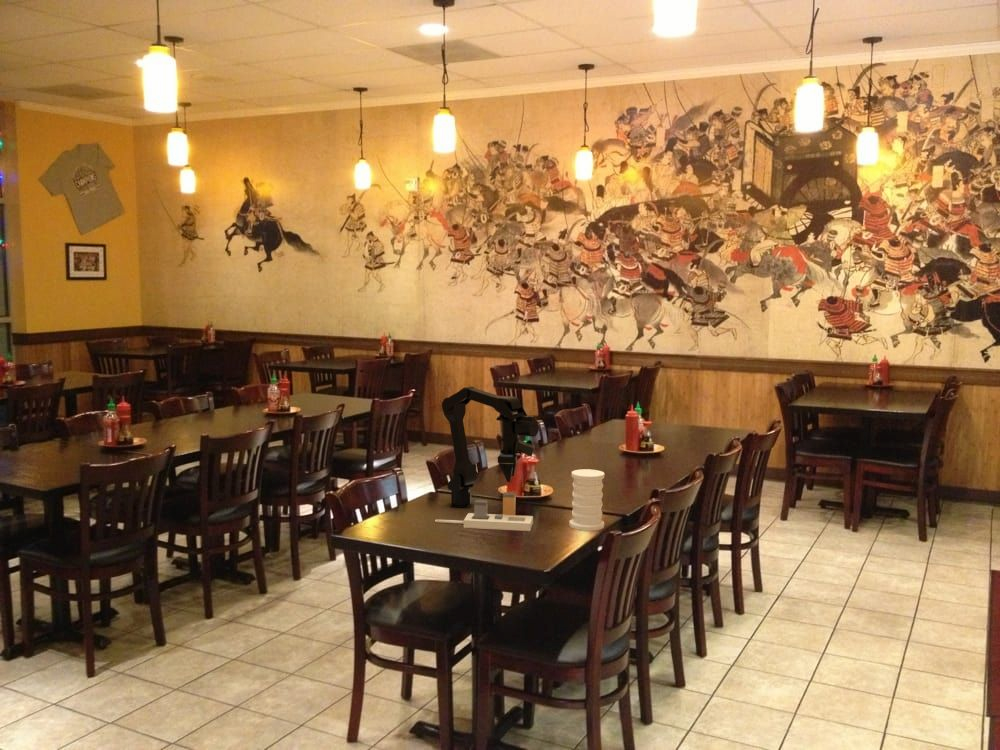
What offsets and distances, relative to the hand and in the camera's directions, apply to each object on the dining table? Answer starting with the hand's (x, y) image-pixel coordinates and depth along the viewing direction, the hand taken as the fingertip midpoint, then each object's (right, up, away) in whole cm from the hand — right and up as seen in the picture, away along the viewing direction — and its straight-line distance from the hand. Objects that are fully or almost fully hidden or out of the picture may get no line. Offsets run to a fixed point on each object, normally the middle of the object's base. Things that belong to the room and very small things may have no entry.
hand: (510, 479), depth 303 cm
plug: (-1, -13, +2) cm, 13 cm away
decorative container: (+25, -15, -9) cm, 31 cm away
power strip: (-9, -14, -9) cm, 19 cm away
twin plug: (-10, -14, -9) cm, 20 cm away
